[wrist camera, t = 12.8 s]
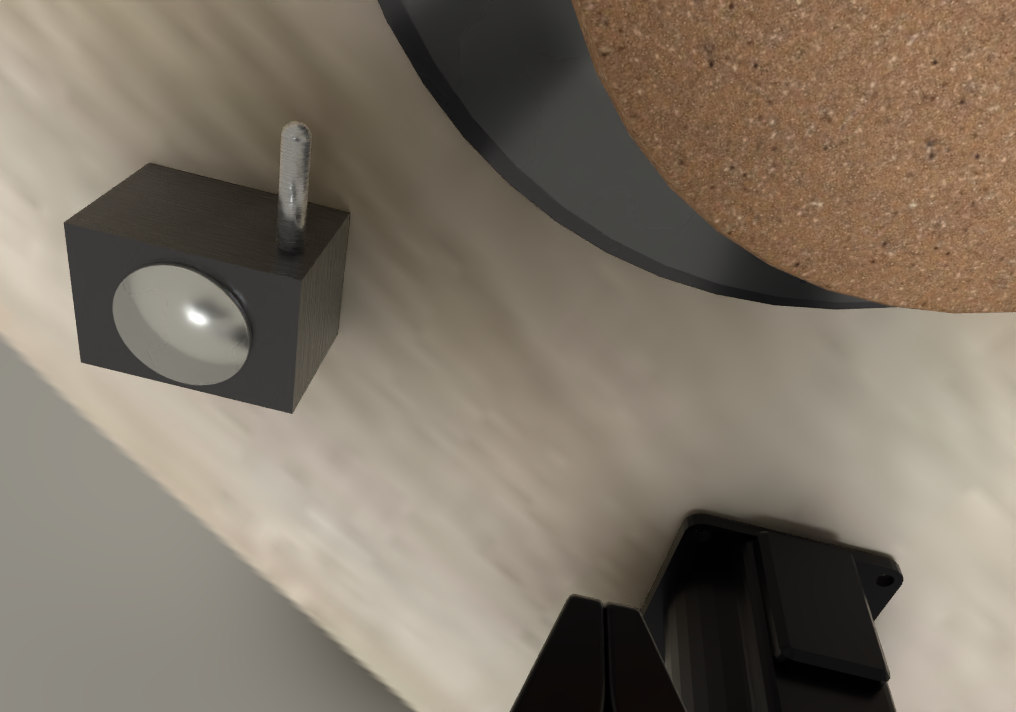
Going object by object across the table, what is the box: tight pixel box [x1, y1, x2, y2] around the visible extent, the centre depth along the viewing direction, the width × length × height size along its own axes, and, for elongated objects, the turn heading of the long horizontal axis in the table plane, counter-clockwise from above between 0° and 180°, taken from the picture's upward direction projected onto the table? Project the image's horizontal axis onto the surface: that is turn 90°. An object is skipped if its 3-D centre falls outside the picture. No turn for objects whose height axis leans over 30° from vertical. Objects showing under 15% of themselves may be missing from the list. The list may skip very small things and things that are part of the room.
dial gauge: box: [64, 121, 350, 414], centre depth 18 cm, size 6×5×4 cm
